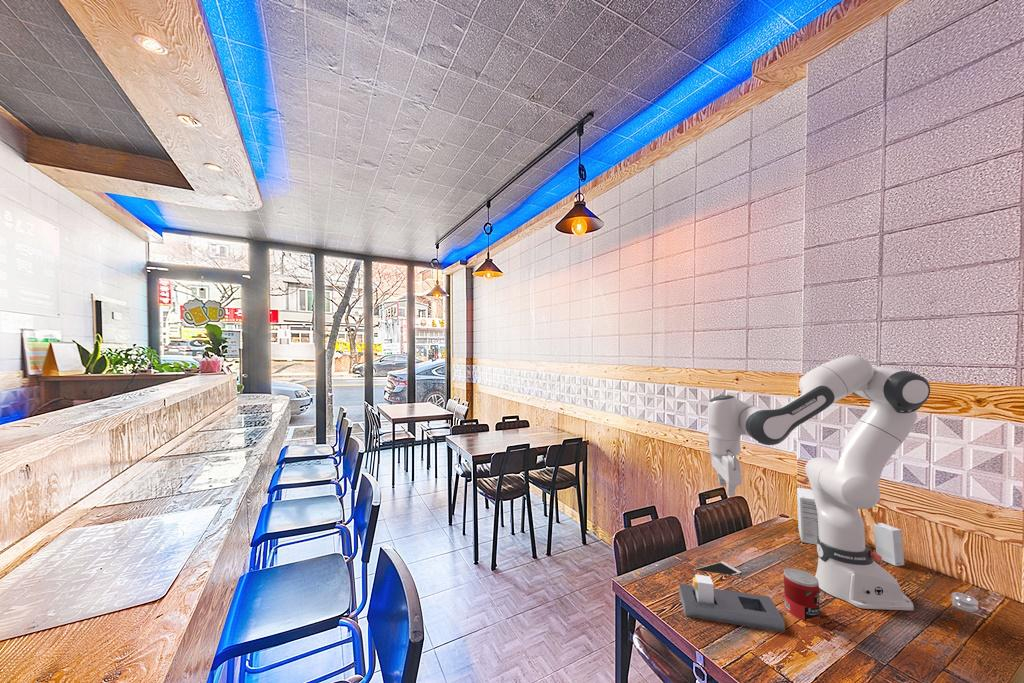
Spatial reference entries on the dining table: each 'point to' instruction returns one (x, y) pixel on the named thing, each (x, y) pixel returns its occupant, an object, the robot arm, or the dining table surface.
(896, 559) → the skincare box
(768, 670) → the dining table surface
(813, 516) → the supplement box
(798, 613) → the canned food
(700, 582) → the plug
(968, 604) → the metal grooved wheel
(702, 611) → the panel
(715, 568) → the smartphone
